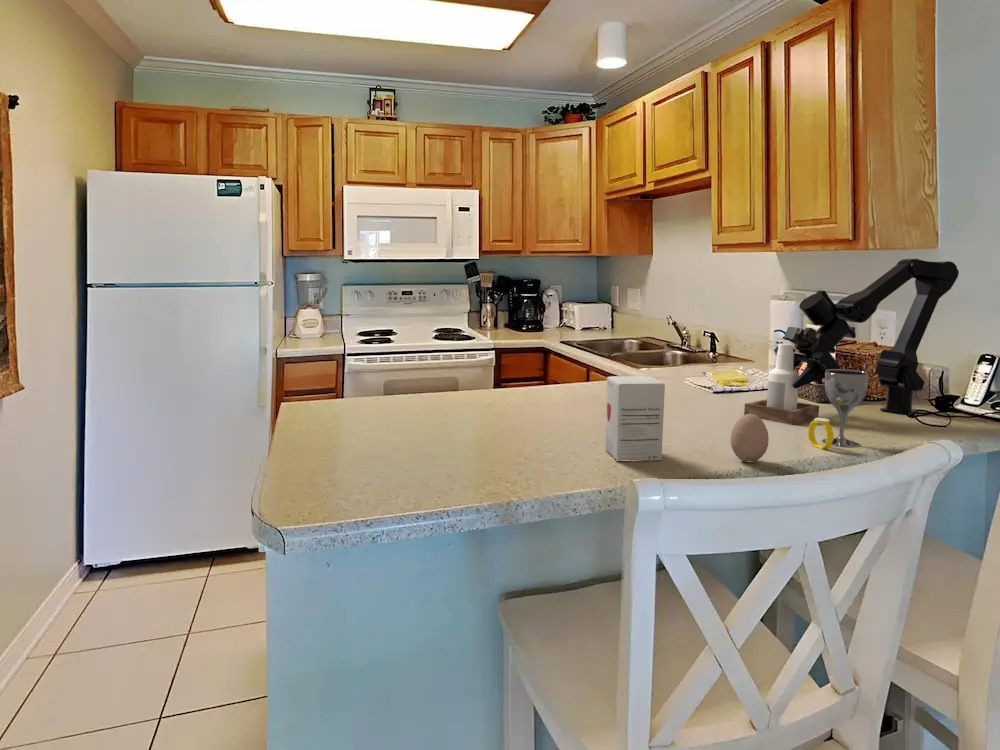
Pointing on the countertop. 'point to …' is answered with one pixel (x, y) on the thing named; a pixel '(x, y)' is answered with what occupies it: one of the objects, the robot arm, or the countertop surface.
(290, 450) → the countertop surface
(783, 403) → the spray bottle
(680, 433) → the countertop surface
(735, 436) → the egg
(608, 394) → the supplement box
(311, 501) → the countertop surface
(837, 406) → the wine glass
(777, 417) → the collar
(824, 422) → the watch
